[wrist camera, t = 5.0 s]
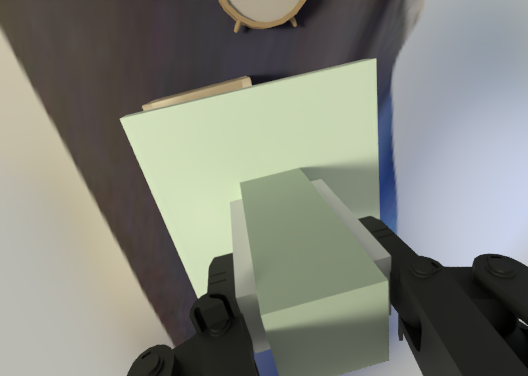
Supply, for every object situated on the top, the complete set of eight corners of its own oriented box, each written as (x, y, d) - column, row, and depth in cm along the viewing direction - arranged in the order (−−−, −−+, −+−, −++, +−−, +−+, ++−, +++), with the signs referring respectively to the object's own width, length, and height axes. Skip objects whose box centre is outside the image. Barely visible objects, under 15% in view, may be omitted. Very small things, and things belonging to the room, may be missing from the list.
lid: (127, 114, 14) (-58, 204, 5) (364, 59, 14) (614, 41, 5) (202, 292, 19) (185, 494, 10) (372, 247, 20) (500, 399, 11)
